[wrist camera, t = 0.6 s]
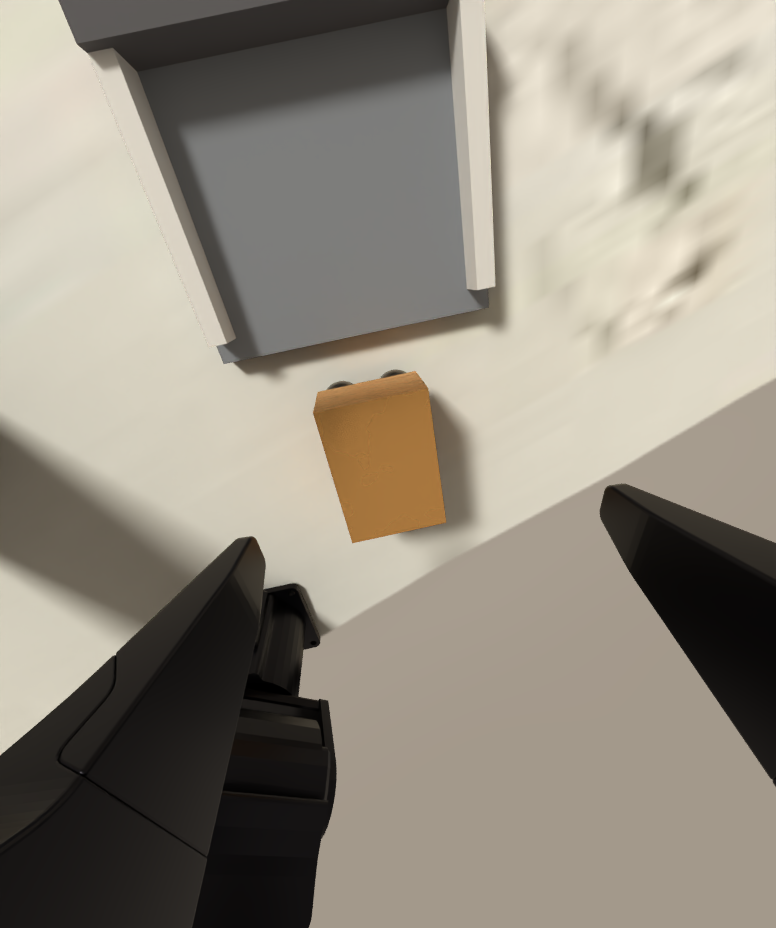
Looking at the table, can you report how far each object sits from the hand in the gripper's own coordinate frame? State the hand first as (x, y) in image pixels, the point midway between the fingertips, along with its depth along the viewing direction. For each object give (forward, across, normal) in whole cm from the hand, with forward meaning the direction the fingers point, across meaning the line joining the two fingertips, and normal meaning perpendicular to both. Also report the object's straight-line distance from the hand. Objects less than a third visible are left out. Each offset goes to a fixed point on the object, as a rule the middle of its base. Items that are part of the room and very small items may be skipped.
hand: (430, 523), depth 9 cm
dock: (+12, +2, -8) cm, 15 cm away
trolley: (+12, +1, +3) cm, 12 cm away
